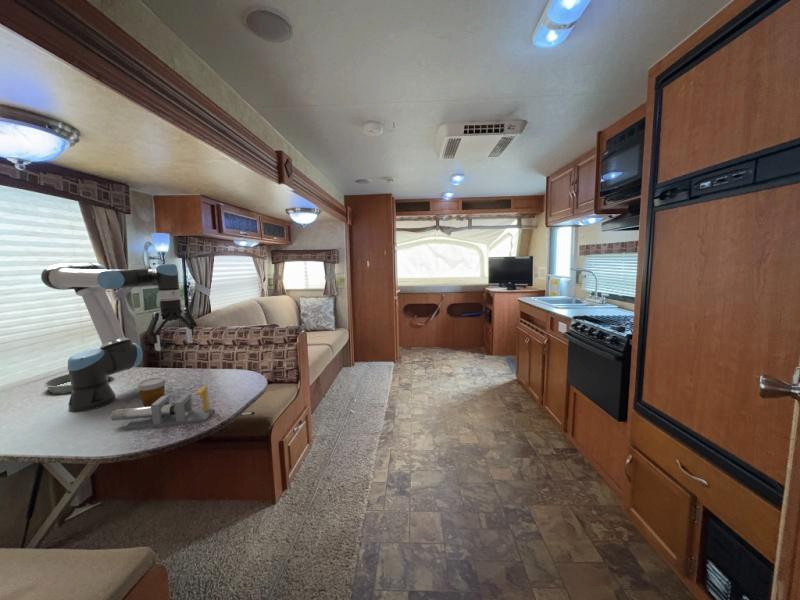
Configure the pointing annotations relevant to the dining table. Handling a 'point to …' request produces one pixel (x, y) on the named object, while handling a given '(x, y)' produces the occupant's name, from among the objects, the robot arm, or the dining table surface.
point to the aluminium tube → (141, 412)
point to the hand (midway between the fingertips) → (174, 346)
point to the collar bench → (169, 420)
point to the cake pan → (57, 381)
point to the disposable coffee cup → (151, 390)
